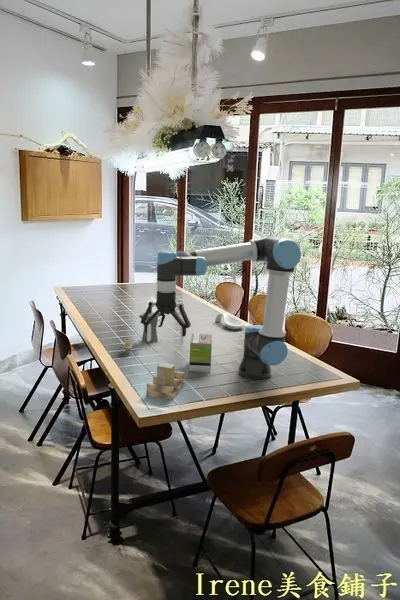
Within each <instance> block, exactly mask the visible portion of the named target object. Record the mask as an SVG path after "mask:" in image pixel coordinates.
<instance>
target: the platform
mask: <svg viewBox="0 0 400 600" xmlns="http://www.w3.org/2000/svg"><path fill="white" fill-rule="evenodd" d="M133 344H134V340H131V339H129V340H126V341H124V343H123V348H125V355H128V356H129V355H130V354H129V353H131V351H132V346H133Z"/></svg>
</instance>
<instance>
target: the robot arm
mask: <svg viewBox="0 0 400 600" xmlns="http://www.w3.org/2000/svg"><path fill="white" fill-rule="evenodd" d="M301 257H302V250H301V247H300V246H299V244H298V243H297V242H296V241H294V240H292V239H290V238H288V237H287V238H286V237H283V236H282V237H281V236H276V235H270V236H269V235H268V236H265V237H259V238H254V239H249V241H248V242H244V243H237V244H236V243H235V244H230V245H222V246H217V247H212V248H211V247H210V248H204V249H196V250H190V251H184V250H183V251H182V250H181V251H177V252H176V251H173V250H161V251H159V252H158V253H157V258H156V290H157V291H156V301H153V300H151V301H149V302H148V304H147V306H148V307H147V308H146V310H145V312H144V313H145V314H144V316H143V318H142V320H140V324H144V325H145V333H147V341H148V342H149V341H150V340H151V324H149V323H150V322H151V321H152V320H153V319H154V318H155V317H156V316H157V315H158V313H161V314H164V315H171V316H172V317H173V318H174V319H175V320H176V322H177V323H178V325H179V326H180V327H181V328H180V329H179V330H180V331H179V332H180V333H179V346H182V345H183V344H184V337H186V335H187V329H189V328H190V327H191V326H192V324H191V322H190V319H189V317H188V315H187V313H186V311H185V308H184V303H183V302H181V303H176V302H177V301H176V298H177V295H176V294H177V293H176V289H177V276H178V277H180V276H182V277H183V276H185V277H187V276H196V277H198V276H204V275H206V274H207V273H206V272H207V270H208V269H207V268H208V267H213V266H219V265H226V264H232V263H240V262H245V261H252V262H266V267H265V269H266V271H267V272H268V279H267V286H266V296H265V305H264V311H263V320H262V321H263V322H262V324H253V325H252V324H251V325H247V326H246V327H245V329H244V340H243V342H244V343H243V353H242V354H243V355H242V359H241V360H240V363H239V365H238V374H239V376H241V377H243V378H246V379H250V380H251V379H252V380H265V379H268V378H270V377H271V376H272V368H271V366H273V367H274V366H278V365H280V364H282V363H283V362H284V361H286V358H287V356H288V354H289V351H288V350H289V349H288V346H287V344H286V343H285V341H286V332H284V330H283V328H284V320H285V313H286V305H287V297H288V292H289V282H290V276H291V275H292V274H293V273H295V267H296V266H298V264H299V263H300V262H301ZM154 307H155V308H156V310H155V311H154V312H153V313H154V314H153V315H152V316H151V317H150V318H149V319H148V320H147V321H146V319H147V317H148V315H149V313H150V311H151V309H152V310H153V308H154ZM176 308H177V310H179V313H180V315H181V317H182V318H181V317H180V315H179V314H178V311H176ZM144 325H143V326H144Z"/></svg>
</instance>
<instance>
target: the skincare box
mask: <svg viewBox="0 0 400 600" xmlns="http://www.w3.org/2000/svg"><path fill="white" fill-rule="evenodd" d="M156 366H157V369H156V376H157V381H156V385H163V386H170V387H174V373H175V371H176V364H171V363H167V362H166V363H165V362H160V363H159V364H158V365H156Z"/></svg>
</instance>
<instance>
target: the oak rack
mask: <svg viewBox="0 0 400 600" xmlns="http://www.w3.org/2000/svg"><path fill="white" fill-rule="evenodd" d="M185 375H186V374H185V372H182V371H176V370H175V377H174V387H170V386H163V385H156V381H157V375H156V376H155V375H154V376H153V377H152V378H153V381H152V383H146V397H150V398H151V397H152V398H157V399H164V400H165V399H166V400H173V401H174V399H175V397H176V396H177V395H178V394H179V392H180V391H181V389H182V387H183V386H184V384H185Z"/></svg>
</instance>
